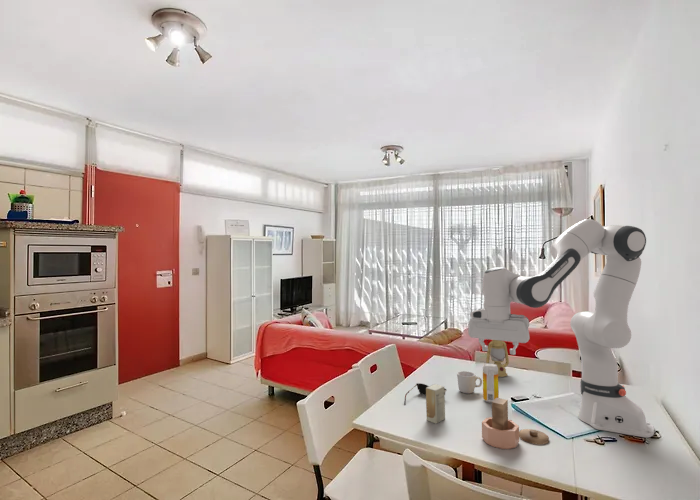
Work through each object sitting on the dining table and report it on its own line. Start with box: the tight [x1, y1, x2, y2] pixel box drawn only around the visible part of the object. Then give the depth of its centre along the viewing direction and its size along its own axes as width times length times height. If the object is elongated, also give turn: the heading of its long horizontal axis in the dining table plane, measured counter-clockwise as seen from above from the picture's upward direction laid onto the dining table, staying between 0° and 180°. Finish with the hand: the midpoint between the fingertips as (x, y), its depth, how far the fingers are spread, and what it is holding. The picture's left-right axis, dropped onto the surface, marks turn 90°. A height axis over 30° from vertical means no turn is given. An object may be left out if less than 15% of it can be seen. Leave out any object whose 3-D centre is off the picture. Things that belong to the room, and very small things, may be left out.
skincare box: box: [425, 383, 446, 425], centre depth 140 cm, size 6×4×12 cm
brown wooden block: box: [491, 397, 509, 430], centre depth 124 cm, size 4×5×12 cm
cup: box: [456, 370, 483, 394], centre depth 169 cm, size 11×8×8 cm
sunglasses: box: [403, 382, 447, 406], centre depth 158 cm, size 14×16×5 cm
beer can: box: [482, 362, 500, 404], centre depth 158 cm, size 6×6×15 cm
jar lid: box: [519, 428, 550, 445], centre depth 126 cm, size 9×9×2 cm
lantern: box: [485, 339, 510, 378], centre depth 194 cm, size 12×10×30 cm
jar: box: [481, 416, 520, 450], centre depth 124 cm, size 11×11×6 cm
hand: (498, 352), depth 133 cm, fingers open, 8 cm apart
